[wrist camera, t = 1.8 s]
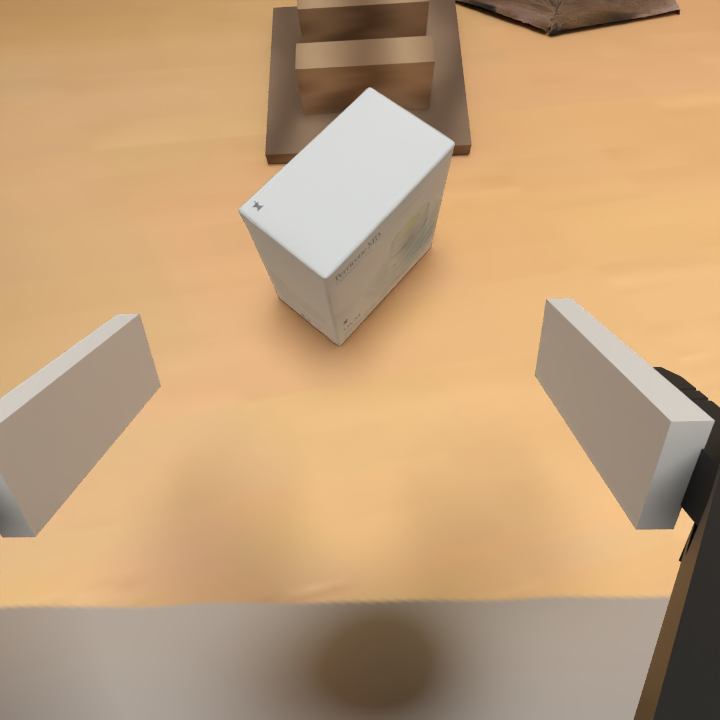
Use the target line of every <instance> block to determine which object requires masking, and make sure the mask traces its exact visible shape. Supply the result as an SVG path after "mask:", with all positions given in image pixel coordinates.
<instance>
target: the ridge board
mask: <svg viewBox="0 0 720 720" xmlns="http://www.w3.org/2000/svg"><path fill="white" fill-rule="evenodd" d="M368 88H372V89H374V90H376V91H377V92H379V93H380V94H382V95H384V96H385V97H387V98H388V99H390V100H391V101H393V102H394V103H396V104H397V105H399V106H401V107H402V108H404V109H405V110H407V111H408V112H410V113H411V114H413V115H414V116H416V117H418V118H419V119H421V120H422V121H424V122H425V123H427V124H428V125H430V126H431V127H433V128H435V129H436V130H438V131H439V132H441V133H442V134H444V135H445V136H447V137H448V138H449V139H451V140H452V141H454V143H455V146H454V150H453V154H452V155H465V154H469V152H470V148H471V136H470V128H469V119H468V110H467V102H466V93H465V84H464V75H463V67H462V58H461V49H460V40H459V32H458V23H457V14H456V5H455V0H297V7H281V8H273V26H272V44H271V62H270V81H269V99H268V117H267V135H266V153H265V155H266V158H267V161H268V164H280V163H289V162H290V161H291V160H292V159H293V158H294V157H295V156H296V155H297V154H298V153H299V152H300V151H301V150H303V149H304V148H305V147H306V146H307V145H308V144H309V143H310V142H311V141H312V140H313V139H314V138H315V137H316V136H317V135H319V134H320V133H321V132H322V131H323V130H324V129H325V128H326V127H327V126H328V125H329V124H330V123H331V122H332V121H333V120H335V119H336V118H337V117H338V116H339V115H340V114H341V113H342V112H343V111H344V110H345V109H346V108H347V107H348V106H350V105H351V104H352V103H353V102H354V101H355V100H356V99H357V98H358V97H359V96H360V95H361V94H362V93H363V92H364V91H365V90H366V89H368Z"/></svg>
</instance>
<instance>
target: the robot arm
mask: <svg viewBox="0 0 720 720" xmlns="http://www.w3.org/2000/svg"><path fill="white" fill-rule="evenodd" d="M535 376H536V378H537V379H538V381H539V382H540V384H541V385H542V387H543V388H544V390H545V391H546V393H547V395H548V396H549V398H550V399H551V401H552V402H553V404H554V405H555V407H556V408H557V410H558V411H559V413H560V414H561V416H562V417H563V419H564V420H565V422H566V424H567V425H568V427H569V428H570V430H571V431H572V433H573V434H574V436H575V437H576V439H577V440H578V442H579V443H580V445H581V446H582V448H583V449H584V451H585V453H586V454H587V456H588V457H589V459H590V460H591V462H592V463H593V465H594V466H595V468H596V469H597V471H598V472H599V474H600V475H601V477H602V478H603V480H604V482H605V483H606V485H607V486H608V488H609V489H610V491H611V492H612V494H613V495H614V497H615V498H616V500H617V501H618V503H619V504H620V506H621V507H622V509H623V511H624V512H625V514H626V515H627V517H628V518H629V520H630V521H631V523H632V524H633V526H634V527H635V529H636V530H637V529H674V526H675V524H676V521H677V518H678V516H679V513H680V511H681V508H683V509H684V510H685V511H686V512H687V514H688V515H689V516H690V517H691V519H692V520H693V521H694V525H693V527H692V530H691V532H690V535H689V537H688V539H687V542H686V544H685V547H684V549H683V552H682V554H681V557H680V559H679V561H681V564H680V568H679V571H678V574H677V578H676V581H675V584H674V587H673V591H672V594H671V597H670V601H669V604H668V607H667V611H666V614H665V617H664V621H663V624H662V627H661V631H660V634H659V638H658V641H657V644H656V647H655V651H654V654H653V657H652V661H651V664H650V667H649V670H648V674H647V677H646V680H645V684H644V687H643V690H642V694H641V697H640V701H639V704H638V707H637V710H636V714H635V717H634V720H720V407H718V406H717V405H716V404H715V403H714V402H712V401H708V398H707V397H706V396H705V395H704V394H702V393H701V392H700V391H696V388H695V387H694V386H692V385H691V384H690V383H689V382H687V381H686V380H685V379H684V378H682V377H681V376H679V375H677V374H674V373H672V372H670V371H668V370H666V369H664V368H662V367H652V366H650V365H649V364H648V363H647V362H646V361H644V360H643V359H642V358H641V357H640V356H639V355H637V354H636V353H635V352H634V351H633V350H632V349H630V348H629V347H628V346H627V345H626V344H625V343H623V342H622V341H621V340H620V339H619V338H618V337H616V336H615V335H614V334H613V333H612V332H610V331H609V330H608V329H607V328H606V327H605V326H603V325H602V324H601V323H600V322H599V321H598V320H596V319H595V318H594V317H593V316H592V315H591V314H589V313H588V312H587V311H586V310H585V309H584V308H582V307H581V306H580V305H579V304H578V303H577V302H575V301H574V300H573V299H572V298H556V299H546V305H545V311H544V318H543V325H542V331H541V338H540V345H539V351H538V358H537V365H536V371H535ZM160 386H161V385H160V381H159V378H158V375H157V371H156V368H155V364H154V361H153V358H152V354H151V351H150V347H149V344H148V341H147V337H146V334H145V330H144V327H143V324H142V320H141V317H140V314H117V315H115V316H114V317H113V318H111V319H110V320H109V321H107V322H106V323H104V324H103V325H102V326H100V327H99V328H97V329H96V330H95V331H93V332H92V333H90V334H89V335H88V336H86V337H85V338H84V339H82V340H81V341H79V342H78V343H77V344H75V345H74V346H72V347H71V348H70V349H68V350H67V351H65V352H64V353H63V354H61V355H60V356H58V357H57V358H56V359H54V360H53V361H52V362H50V363H49V364H47V365H46V366H45V367H43V368H42V369H40V370H39V371H38V372H36V373H35V374H33V375H32V376H31V377H29V378H28V379H27V380H25V381H24V382H22V383H21V384H20V385H18V386H17V387H15V388H14V389H13V390H11V391H10V392H8V393H7V394H6V395H4V396H3V397H2V398H0V534H1V536H2V537H36V536H37V534H38V533H39V532H40V531H41V530H42V528H43V527H44V526H45V525H46V524H47V522H48V521H49V520H50V519H51V518H52V516H53V515H54V514H55V513H56V511H57V510H58V509H59V508H60V507H61V505H62V504H63V503H64V502H65V501H66V499H67V498H68V497H69V496H70V495H71V493H72V492H73V491H74V490H75V489H76V487H77V486H78V485H79V484H80V483H81V481H82V480H83V479H84V478H85V477H86V475H87V474H88V473H89V472H90V471H91V469H92V468H93V467H94V466H95V465H96V463H97V462H98V461H99V460H100V459H101V457H102V456H103V455H104V454H105V453H106V451H107V450H108V449H109V448H110V447H111V445H112V444H113V443H114V442H115V440H116V439H117V438H118V437H119V436H120V434H121V433H122V432H123V431H124V430H125V428H126V427H127V426H128V425H129V424H130V422H131V421H132V420H133V419H134V418H135V416H136V415H137V414H138V413H139V412H140V410H141V409H142V408H143V407H144V406H145V404H146V403H147V402H148V401H149V400H150V398H151V397H152V396H153V395H154V394H155V392H156V391H157V390H158V389H159V388H160Z"/></svg>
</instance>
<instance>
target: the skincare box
mask: <svg viewBox="0 0 720 720" xmlns="http://www.w3.org/2000/svg"><path fill="white" fill-rule="evenodd" d="M454 146H455V143H454V141H452V140H451V139H449V138H448V137H447V136H445V135H444V134H442V133H441V132H439V131H438V130H436V129H435V128H433V127H431V126H430V125H428V124H427V123H425V122H424V121H422V120H421V119H419V118H418V117H416V116H414V115H413V114H411V113H410V112H408V111H407V110H405V109H404V108H402V107H401V106H399V105H397V104H396V103H394V102H393V101H391V100H390V99H388V98H387V97H385V96H384V95H382V94H380V93H379V92H377V91H376V90H374V89H372V88H368V89H366V90H365V91H364V92H363V93H362V94H361V95H360V96H359V97H358V98H357V99H356V100H355V101H354V102H353V103H352V104H351V105H350V106H348V107H347V108H346V109H345V110H344V111H343V112H342V113H341V114H340V115H339V116H338V117H337V118H336V119H335V120H333V121H332V122H331V123H330V124H329V125H328V126H327V127H326V128H325V129H324V130H323V131H322V132H321V133H320V134H319V135H317V136H316V137H315V138H314V139H313V140H312V141H311V142H310V143H309V144H308V145H307V146H306V147H305V148H304V149H303V150H301V151H300V152H299V153H298V154H297V155H296V156H295V157H294V158H293V159H292V160H291V161H290V162H289V163H288V164H286V165H285V166H284V167H283V168H282V169H281V170H280V171H279V172H278V173H277V174H276V175H275V176H274V177H273V178H271V179H270V180H269V181H268V182H267V183H266V184H265V185H264V186H263V187H262V188H261V189H260V190H259V191H257V192H256V193H255V194H254V195H253V196H252V197H251V198H250V199H249V200H248V201H247V202H245V203H244V204H243V205H242V206H241V207H240V208H239V209H238V211H239V213H240V215H241V217H242V219H243V221H244V222H245V224H246V226H247V228H248V230H249V232H250V234H251V237H252V239H253V241H254V243H255V246H256V248H257V250H258V252H259V254H260V257H261V259H262V261H263V263H264V265H265V268H266V270H267V272H268V274H269V276H270V279H271V281H272V283H273V285H274V288H275V290H276V293H277V295H278V297H279V298H280V299H281V300H283V301H284V302H285V303H286V304H287V305H289V306H290V307H291V308H292V309H293V310H295V311H296V312H297V313H298V314H300V315H301V316H302V317H303V318H304V319H306V320H307V321H308V322H309V323H310V324H312V325H313V326H314V327H315V328H317V329H318V330H319V331H320V332H321V333H323V334H324V335H325V336H326V337H328V338H329V339H330V340H331V341H333V342H334V343H335V344H337V345H338V346H341V345H342V344H343V343H344V341H345V340H346V339H347V338H348V337H349V336H350V335H351V334H352V333H353V332H354V331H355V330H356V328H357V327H358V326H359V325H360V324H361V323H362V322H363V321H364V320H365V319H366V317H367V316H368V315H369V314H370V313H371V312H372V311H373V310H374V309H375V308H376V307H377V305H378V304H379V303H380V302H381V301H382V300H383V299H384V298H385V297H386V296H387V295H388V293H389V292H390V291H391V290H392V289H393V288H394V287H395V286H396V285H397V284H398V283H399V281H400V280H401V279H402V278H403V277H404V276H405V275H406V274H407V273H408V272H409V270H410V269H411V268H412V267H413V266H414V265H415V264H416V263H417V262H418V261H419V260H420V259H421V257H422V256H423V255H424V254H425V253H426V252H427V251H428V250H429V249H430V248H431V244H432V240H433V236H434V231H435V227H436V222H437V218H438V213H439V209H440V205H441V201H442V197H443V192H444V188H445V184H446V179H447V175H448V171H449V166H450V162H451V158H452V154H453V150H454Z"/></svg>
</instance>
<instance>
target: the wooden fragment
mask: <svg viewBox="0 0 720 720" xmlns="http://www.w3.org/2000/svg"><path fill="white" fill-rule="evenodd" d="M456 1H461V2H464V3H469V4H472V5H477V6H480V7H482V8H485V9H488V10H492V11H494V12H496V13H499V14H502V15H505V16H507V17H510V18H513V19H516V20H520V21H522V22H523V23H525V22H526V23H529V24H531V25H533V26H535V27H538V28H542V29H543V30H545V31H546V32H548V29H549V27H550V25H551V29H550V30H549V31H550V32H549V34H555V33H559V32H561V31H563V30H564V29H572V28H578V27H583V26H591V25H596V24H603V23H609V22H615V21H622V20H628V19H633V18H639V17H647V16H653V15H657V14H661V13H666V12H669V11H673V10H677V12H678V13H679V15H680V9H679V6H678V4H677V3H676V1H675V0H456Z"/></svg>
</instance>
